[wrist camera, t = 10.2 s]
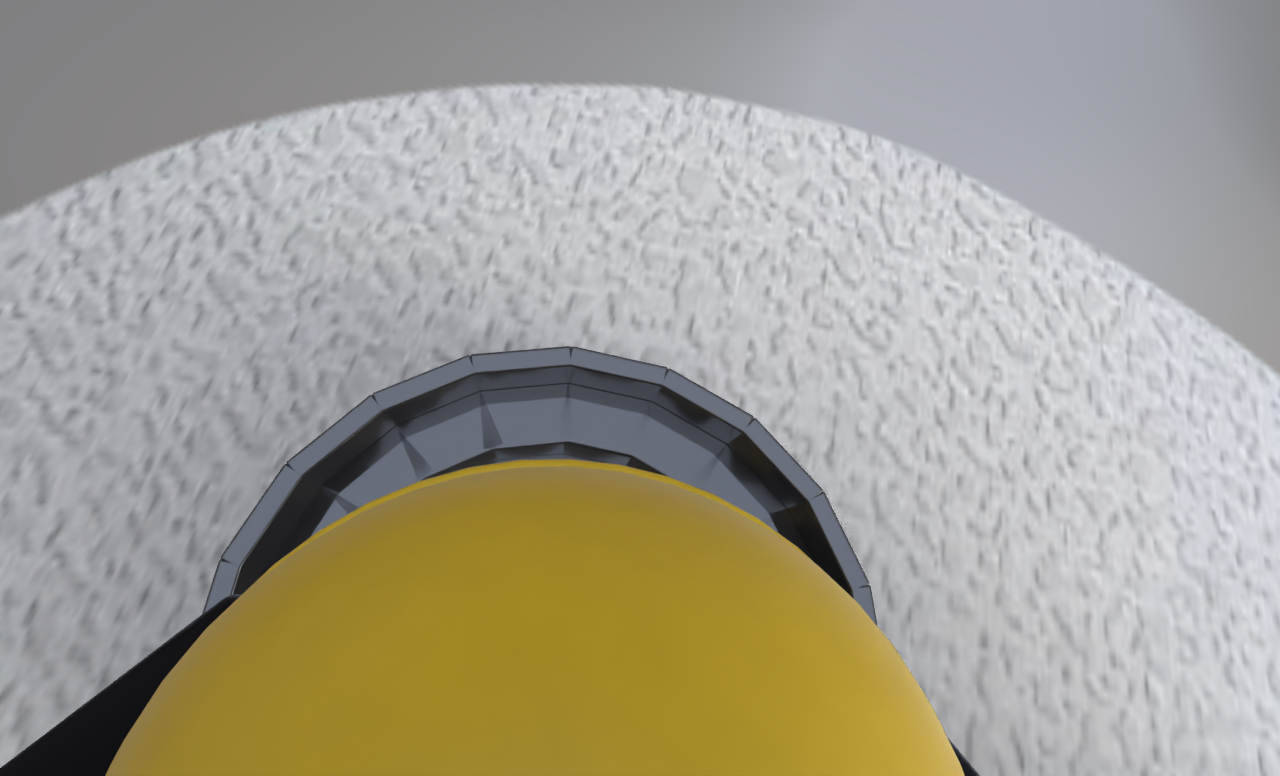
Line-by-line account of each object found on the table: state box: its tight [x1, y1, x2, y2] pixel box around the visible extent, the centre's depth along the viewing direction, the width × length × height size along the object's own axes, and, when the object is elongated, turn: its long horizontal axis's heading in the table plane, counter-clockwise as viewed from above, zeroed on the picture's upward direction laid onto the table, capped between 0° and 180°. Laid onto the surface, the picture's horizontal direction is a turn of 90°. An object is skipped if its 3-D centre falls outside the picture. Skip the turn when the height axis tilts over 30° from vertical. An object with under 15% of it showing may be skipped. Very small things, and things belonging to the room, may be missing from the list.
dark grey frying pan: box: [202, 346, 877, 625], centre depth 20 cm, size 15×15×4 cm
